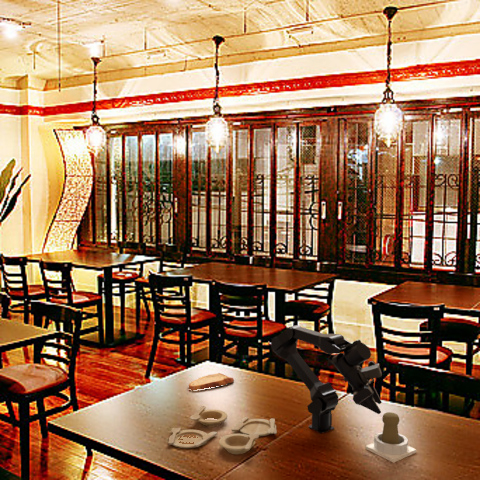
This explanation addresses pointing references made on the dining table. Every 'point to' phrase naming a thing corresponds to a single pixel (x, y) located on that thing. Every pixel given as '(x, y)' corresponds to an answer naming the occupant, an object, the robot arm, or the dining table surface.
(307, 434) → the dining table surface
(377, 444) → the guard dock
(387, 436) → the cork
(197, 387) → the bread slice
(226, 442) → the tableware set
